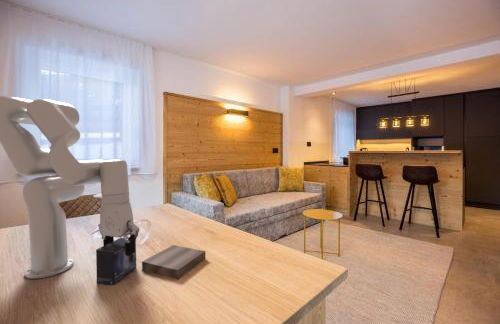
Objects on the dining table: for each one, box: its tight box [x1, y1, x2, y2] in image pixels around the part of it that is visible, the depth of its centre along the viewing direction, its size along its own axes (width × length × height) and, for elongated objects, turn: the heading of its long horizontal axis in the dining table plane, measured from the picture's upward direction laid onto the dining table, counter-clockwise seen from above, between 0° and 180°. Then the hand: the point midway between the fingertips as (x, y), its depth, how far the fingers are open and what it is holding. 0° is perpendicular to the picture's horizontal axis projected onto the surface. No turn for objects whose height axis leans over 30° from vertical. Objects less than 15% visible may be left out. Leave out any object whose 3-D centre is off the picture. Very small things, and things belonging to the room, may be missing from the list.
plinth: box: [141, 244, 206, 280], centre depth 83 cm, size 15×15×3 cm
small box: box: [95, 237, 137, 286], centre depth 76 cm, size 11×6×10 cm, turn 168°
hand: (119, 252), depth 76 cm, fingers open, 9 cm apart
